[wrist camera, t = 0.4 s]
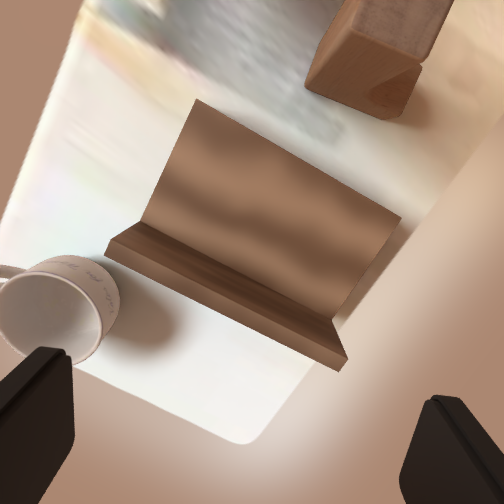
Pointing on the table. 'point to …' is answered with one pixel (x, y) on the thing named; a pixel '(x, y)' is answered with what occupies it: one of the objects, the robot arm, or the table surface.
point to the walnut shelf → (255, 234)
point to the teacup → (58, 306)
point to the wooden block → (376, 53)
